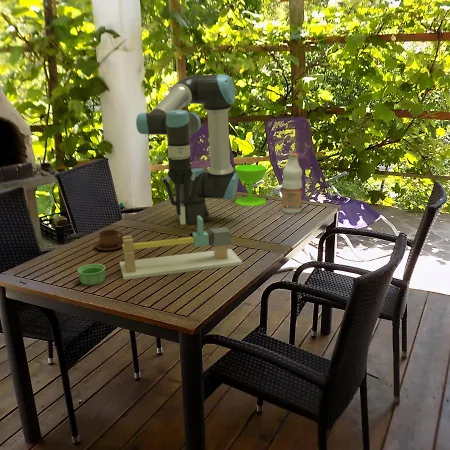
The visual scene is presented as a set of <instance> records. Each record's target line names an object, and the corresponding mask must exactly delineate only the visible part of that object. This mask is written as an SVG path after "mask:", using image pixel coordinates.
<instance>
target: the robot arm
mask: <svg viewBox="0 0 450 450" xmlns="http://www.w3.org/2000/svg"><path fill="white" fill-rule="evenodd" d="M235 101H236V91H235V84H234V82H233V79H232V78H231V76H229V75H227V74H220V73H219V74H218V73H217V74H194V75H190V76H186V77H184V78H182V79H180V80H179V81H177V82H176V83H175V84H173V85H172V86H171V88H170V89H169V93H168V94H167V95H166V96H165V97H164V98H163V99H162V100H160V101H159V103H158V104H157V105H156V106H155V107H154V108H153V109H152V110H151V111H150V112H141V113H138V115H137V117H136V120H135V121H136V123H135V124H136V130H137V132H138V133H139V134H140V135H148V136H150V135H151V136H153V135H155V136H156V135H157V136H159V135H160V136H161V135H164V136H166V140H167V157H169V158H168V172H167V175H166V176H165V177H162V178H161V182H163V184H164V185H165V189H166V192H167V195H168V198H169V201H170V204H171V205H172V206H174V207H175V209H176V210H175V213H176V219H177V222H179V223H180V225H181V226H183V225H186V224H189V225H193V224H194V225H195V224H197V216H201V218H202V219H203V223H206V222H208V221H210V211H209V209H208V205H207V203H206V199H213V200H214V199H215V200H233V199H234V198H235V197H236V194H237V190H238V185H239V178H238V174H236V172H235V168H234V167H232V166H231V158H230V156H231V155H230V154H231V153H230V133H229V128H230V127H229V111H230V110H231V109H232V105H234V103H235ZM191 104H193V105H194V104H195V105H197V104H198V105H202V106H203V110H204V111H205V112H206V113H207V123H208V125H207V126H208V127H207V128H208V143H209V155H210V157H209V158H210V167H209V168H208V169H207V172H206V170H205V169H204V168H199V167H198V168H197V167H196V168H192V163H191V158H190V157H191V140H190V139H191V138H190V137H191V135H194V134H196V133H197V132H198V131H199V130H200V128H201V125H202V122H201V119H200V117H199V115H198V114H196V113H195V112H192V111H191V112H188V111H187V110H185V109H184V110H183V108H185V107H187V106H188V105H191ZM170 180H171V182H172V183H173V184H174V194H173V192H172V189H171V185H170ZM174 196H175V199H174Z"/></svg>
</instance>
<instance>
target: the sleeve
mask: <svg viewBox="0 0 450 450" xmlns="http://www.w3.org/2000/svg"><path fill="white" fill-rule="evenodd" d="M196 227H197V228H196V229H197V231H196V232H192V237H195V242H194V243H192V244H193V246H194V247H195V248H199V247H207V246H210V245H209V234H208V233H207V230H206V231H205V230H204V222H203V219H202V218H201V216H197V226H196Z"/></svg>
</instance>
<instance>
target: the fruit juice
mask: <svg viewBox="0 0 450 450" xmlns="http://www.w3.org/2000/svg"><path fill="white" fill-rule="evenodd" d="M287 158H288V159H287V162H286V165H285V167H284V168H283V170H282V176H283V180H282V189H281V199H282V200H281V211H282V212H283V213H284V214H289V215H290V214H291V215H292V214H295V215H296V214H299V213H301V212H302V207H303V206H302V205H303V204H302V203H303V201H302V199H303V198H302V197H303V180H302V176H303V169H302V168H301V166H300V163H299V159H298V158H299V153H296V152H289V153H287Z"/></svg>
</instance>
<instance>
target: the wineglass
mask: <svg viewBox="0 0 450 450" xmlns="http://www.w3.org/2000/svg"><path fill="white" fill-rule="evenodd" d="M266 172H267V167H266V165H260V164H243V165H236V166H235V167H234V173H236V174H238V180H240V181H241V182H243V183H245V184H248V194H247V195H248V196H241V197H239V198H237V199H236V200H235V201H234V202H235V204H236V205H239V206H242V207H258V206H263V205H265V204H266V203H267V201H266V199H265V198H264V197H263V198H262V197H261V196H260V197H259V196H254V195H253V184H257V183H258V182H260V181H261V180H262V179H263V178H264V177H265V175H266Z"/></svg>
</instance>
